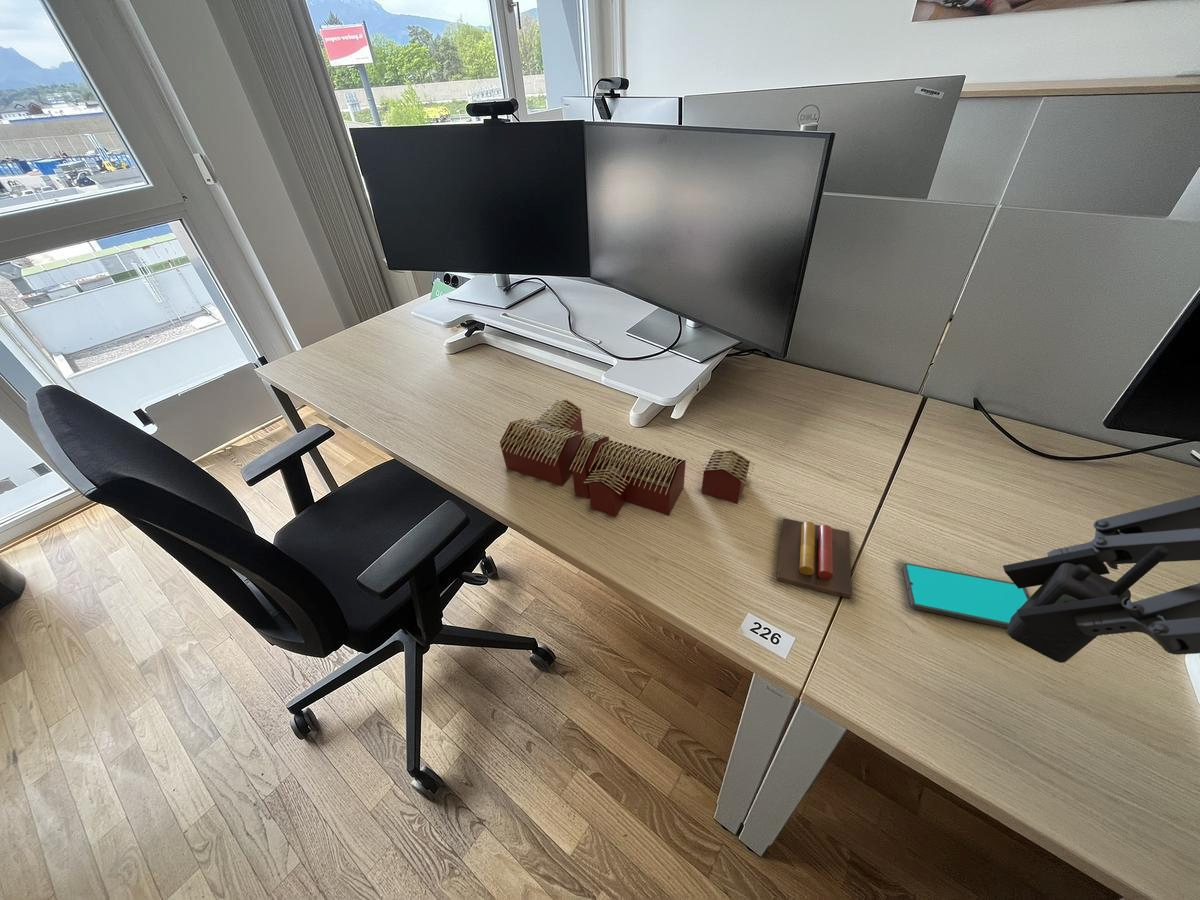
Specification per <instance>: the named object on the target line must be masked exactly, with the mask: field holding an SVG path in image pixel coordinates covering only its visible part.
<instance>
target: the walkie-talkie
mask: <svg viewBox="0 0 1200 900" xmlns="http://www.w3.org/2000/svg"><path fill="white" fill-rule="evenodd" d="M1169 553H1170V552H1169V550H1168V549H1167V548H1165V547H1163V546H1156V547H1154V548H1153V549H1152V550H1151V551H1150V552H1149V553H1148V554H1146V556H1144V557H1143V558H1142V559H1141V560H1140V561H1139V562H1138V563H1134V565H1133V566H1132V567H1130V569H1129V570H1128V571H1127V572H1125V573H1124V574H1123V575H1122V576H1120V577H1119V578H1118V579H1117V580H1113V579H1110V578H1108V577H1106V576H1104V575H1098V574H1096V573H1094V572H1092V571H1091V569H1090V568H1089V567H1088V566H1086V565H1082V564H1079V565H1074V564H1071V563H1063V564H1061V565H1060V566H1059V567H1058V568H1057V570H1056V571H1055V572H1054V573H1053V574H1052V575H1051V576H1050V577H1049V578H1048V579H1047V580H1046V581H1045V582H1044V583H1043V584H1042V585H1039V587H1038V588H1037V590H1035V591H1034V593H1032V594H1031V596H1030V598H1029V599H1028V600H1027V601H1026V602H1025V603H1024V604H1023V605H1022V606H1021V607H1020V609H1023V608H1030V607H1037V606H1044V605H1051V604H1058V603H1065V602H1072V601H1079V600H1086V599H1093V598H1100V597H1107V596H1113V595H1117V596H1118V598H1119V599H1120V600H1121V602H1122V600H1123V599H1124V598H1126V597H1127V598H1128V599H1129V600H1130V601H1131V597H1132V593H1131V590H1130V588H1132V587H1133V586H1134V585H1135V584H1136V583H1137V582H1138V581H1139V580H1141V579H1142V578H1143V577H1144V576H1146V574H1148V573H1149V572H1150V571H1152V569H1153V568H1155V567H1156V566H1157V565H1159V563H1161V562H1160V561H1161V560H1163V559H1164V558H1165V557H1166V556H1167V555H1169ZM1006 629H1007V630H1006V633H1007V636H1008V637H1009V638H1010V639H1012V640H1013V641H1015V642H1017V643H1019V644H1021V645H1023V646H1025V647H1027V648H1029V649H1031V650H1033V651H1035V652H1036V653H1039V654H1041V655H1043V656H1044V657H1047V658H1048V659H1050V660H1052V661H1054V662H1056V663H1059V664H1060V663H1061V664H1063V663H1066V662H1068V661H1069V660H1070V659H1072V658H1073V657H1074V656H1075V655H1076V654H1078V653H1079V652H1080V651H1081V650H1082V649H1084V648H1085V647H1086V646H1087V645H1089V644H1090V643H1091V642H1092V641H1094V640H1095V639H1096V638H1098V636H1090V635H1085V634H1084V633H1083V632H1082V631H1081V629H1077V630H1068V631H1059V632H1050V633H1041V634H1033V632H1032V631H1031V630H1030V629H1029V628H1028V627H1027V625H1026V624H1025V623H1024V622H1023V621H1022V619H1021V618H1020V617H1019V615H1018V611H1017V612H1016V613H1015V614H1014V615H1013V616H1012V617H1011V619H1010V623H1009V626H1008V628H1006Z"/></svg>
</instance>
